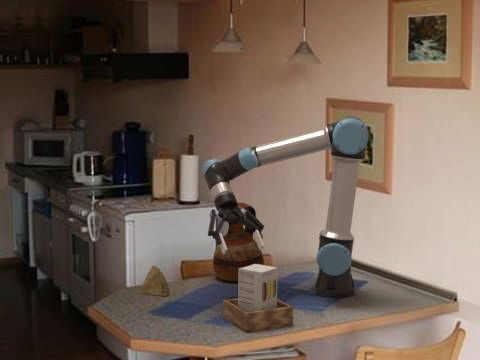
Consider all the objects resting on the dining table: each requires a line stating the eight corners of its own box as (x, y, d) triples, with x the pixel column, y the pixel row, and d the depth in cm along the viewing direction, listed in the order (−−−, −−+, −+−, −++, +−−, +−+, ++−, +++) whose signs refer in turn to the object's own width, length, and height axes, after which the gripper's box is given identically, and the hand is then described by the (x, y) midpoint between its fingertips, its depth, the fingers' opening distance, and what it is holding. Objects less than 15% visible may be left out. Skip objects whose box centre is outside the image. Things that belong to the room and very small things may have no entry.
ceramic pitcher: (202, 279, 315) (202, 203, 311) (232, 270, 332) (233, 197, 328) (244, 287, 304) (244, 208, 300) (273, 276, 320) (274, 201, 317)
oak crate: (268, 312, 272) (268, 294, 271) (292, 325, 257) (293, 307, 257) (223, 318, 265) (223, 300, 264) (246, 332, 250) (246, 313, 249)
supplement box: (260, 325, 254) (261, 272, 252) (237, 319, 260) (237, 268, 258) (277, 318, 262) (278, 266, 260) (254, 313, 267) (254, 262, 265)
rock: (177, 288, 293) (166, 279, 301) (165, 272, 289) (154, 263, 297) (154, 309, 290) (144, 298, 298) (142, 293, 286) (131, 283, 294)
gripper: (252, 202, 287) (273, 252, 276) (187, 207, 276) (205, 259, 265) (259, 189, 282) (280, 240, 271) (193, 194, 271) (212, 246, 260)
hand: (243, 249), depth 268 cm, fingers open, 13 cm apart
